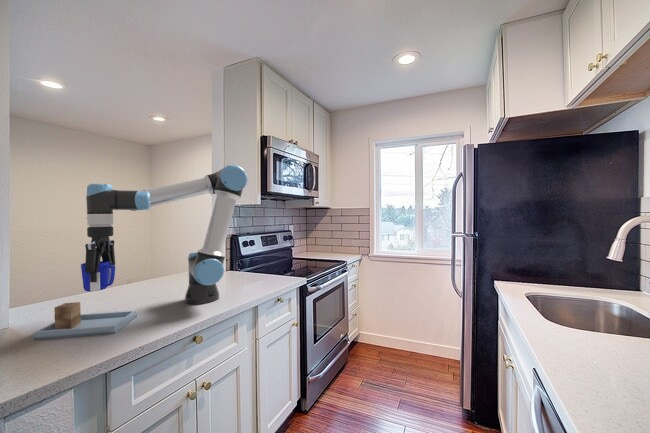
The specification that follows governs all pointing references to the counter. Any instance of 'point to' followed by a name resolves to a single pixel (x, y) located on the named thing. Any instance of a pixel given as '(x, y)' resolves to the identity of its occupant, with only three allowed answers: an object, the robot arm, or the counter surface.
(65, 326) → the walnut block
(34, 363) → the counter surface
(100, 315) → the tray
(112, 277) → the mug
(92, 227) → the robot arm
